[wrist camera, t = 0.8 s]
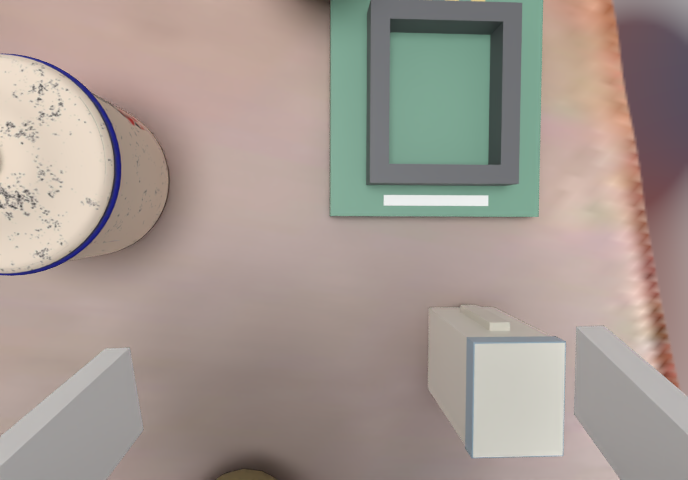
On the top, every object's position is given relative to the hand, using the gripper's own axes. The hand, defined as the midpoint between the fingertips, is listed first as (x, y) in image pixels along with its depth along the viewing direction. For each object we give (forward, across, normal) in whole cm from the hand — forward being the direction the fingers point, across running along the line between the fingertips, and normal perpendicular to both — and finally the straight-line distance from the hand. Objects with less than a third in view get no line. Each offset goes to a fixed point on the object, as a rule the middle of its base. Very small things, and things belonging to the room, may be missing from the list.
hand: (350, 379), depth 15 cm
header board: (+18, -5, -8) cm, 20 cm away
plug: (+16, -6, +6) cm, 18 cm away
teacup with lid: (+15, +16, -5) cm, 23 cm away
